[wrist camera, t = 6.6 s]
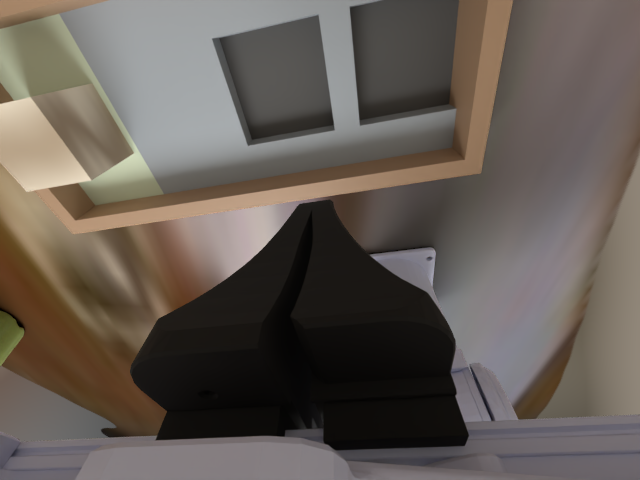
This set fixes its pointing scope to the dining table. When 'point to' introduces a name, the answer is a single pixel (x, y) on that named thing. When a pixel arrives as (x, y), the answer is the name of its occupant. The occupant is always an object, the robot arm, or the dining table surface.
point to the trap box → (260, 96)
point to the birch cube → (59, 138)
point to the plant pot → (8, 335)
